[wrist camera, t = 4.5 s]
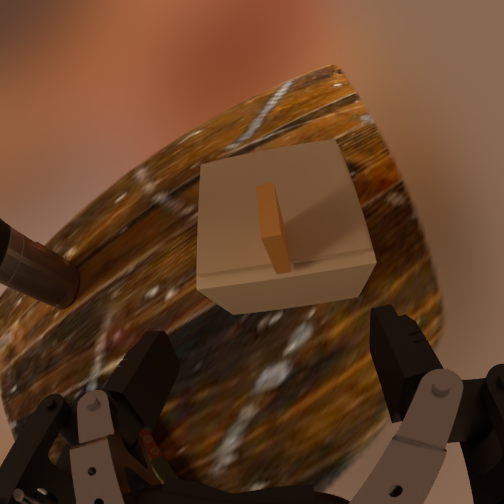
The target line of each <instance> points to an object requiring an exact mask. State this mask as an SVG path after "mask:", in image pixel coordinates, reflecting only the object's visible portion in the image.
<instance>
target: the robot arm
mask: <svg viewBox="0 0 504 504" xmlns="http://www.w3.org/2000/svg"><path fill="white" fill-rule="evenodd" d="M0 283H1V284H3V285H5V286H8V287H10V288H12V289H14V290H16V291H18V292H20V293H23V294H25V295H27V296H29V297H32V298H34V299H36V300H39V301H41V302H43V303H46V304H48V305H51V306H53V307H56V308H58V309H64V308H66V307H68V306H69V305H70V304H71V302H72V301H73V299H74V298H75V295H76V293H77V290H78V285H79V274H78V270H77V269H76V267H75V266H74V265H72V264H70V262H69V261H68V260H66V259H65V258H63V257H61V256H60V255H58V254H56V253H55V252H53V251H51V250H50V249H48V248H47V247H45V246H43V245H42V244H40V243H39V242H34V241H32V240H31V239H29V238H27V237H26V236H24V235H23V234H21V233H20V232H18V231H17V230H15V229H14V228H12V227H11V226H9V225H8V224H7V223H5V222H4V221H2V219H0ZM369 343H370V352H371V356H372V359H373V362H374V365H375V368H376V371H377V374H378V377H379V381H380V384H381V387H382V390H383V394H384V397H385V400H386V404H387V407H388V411H389V414H390V418H391V421H392V423H395V422H399V421H402V424H401V426H400V427H399V430H398V431H397V433H396V435H395V436H394V437H393V438H392V440H391V441H390V443H389V445H388V446H387V448H386V450H385V452H384V453H383V455H382V456H381V458H380V460H379V461H378V463H377V465H376V466H375V468H374V469H373V471H372V472H371V474H370V475H369V477H368V478H367V480H366V481H365V483H364V484H363V486H362V487H361V488H360V490H359V491H358V492H357V494H356V495H355V496H354V498H353V499H352V500H351V502H350V501H348V500H346V499H343V498H341V497H338V496H335V495H331V494H327V493H322V492H314V485H302V486H283V487H270V488H265V489H260V490H255V491H249V492H243V493H235V494H234V493H228V492H225V491H222V490H219V489H216V488H213V487H210V486H208V485H205V484H202V483H199V482H195V481H189V480H183V479H177V478H172V477H167V476H166V478H165V481H164V484H162V482H161V481H160V480H159V479H158V477H157V476H156V474H155V472H154V470H153V468H152V465H151V462H150V460H149V457H148V454H147V452H146V449H145V446H144V443H143V440H142V438H141V437H140V435H139V434H140V432H141V430H143V431H148V432H153V430H154V428H155V425H156V423H157V421H158V418H159V416H160V414H161V412H162V409H163V407H164V405H165V402H166V400H167V398H168V395H169V393H170V391H171V389H172V386H173V384H174V382H175V380H176V377H177V375H178V373H179V360H178V357H177V355H176V353H175V351H174V349H173V347H172V345H171V342H170V340H169V338H168V336H167V334H166V333H165V332H164V331H147V332H146V333H145V334H144V335H143V337H142V338H141V340H140V341H139V342H138V343H137V344H136V345H135V346H133V347H132V348H131V349H130V350H128V352H127V353H126V355H125V356H124V358H123V360H122V361H121V362H120V364H119V365H118V367H117V368H116V369H115V371H114V372H113V374H112V375H111V377H110V378H109V380H108V381H107V383H106V384H105V386H104V387H103V389H102V390H94V391H91V392H88V393H87V394H85V395H84V396H83V397H82V398H81V399H80V400H79V402H78V403H67V402H66V401H65V400H64V398H63V397H62V396H61V395H60V394H51V395H49V396H47V397H46V398H44V399H43V400H42V402H41V403H40V405H39V406H38V407H37V409H36V410H35V412H34V413H33V415H32V416H31V418H30V419H29V421H28V422H27V424H26V425H25V427H24V428H23V430H22V432H21V433H20V435H19V436H18V438H17V440H16V441H15V443H14V444H13V446H12V448H11V450H10V451H9V453H8V455H7V456H6V458H5V460H4V462H3V463H2V465H1V467H0V504H75V503H76V502H77V504H423V503H424V501H425V499H426V497H427V495H428V493H429V491H430V490H431V488H432V486H433V484H434V481H435V479H436V477H437V475H438V473H439V471H440V468H441V466H442V464H443V461H444V459H445V456H446V452H447V450H445V447H446V444H447V443H451V442H460V445H461V448H462V452H463V456H464V459H465V463H466V467H467V471H468V476H469V480H470V485H471V490H472V495H473V501H474V504H504V364H499V365H496V366H494V367H493V368H491V369H490V370H489V372H488V374H487V376H486V378H482V379H472V380H461V378H460V377H459V376H458V375H457V374H456V373H455V372H453V371H451V370H446V369H444V368H443V367H442V365H441V363H440V361H439V360H438V358H437V356H436V354H435V353H434V351H433V349H432V348H431V346H430V344H429V342H428V341H427V340H426V338H425V336H424V334H423V333H422V332H421V329H420V328H419V326H418V325H417V323H416V322H415V321H414V320H413V319H411V318H410V317H408V316H407V315H403V316H398V315H397V313H396V311H395V309H394V308H393V306H392V305H391V304H390V305H385V306H380V307H375V308H372V309H371V316H370V340H369ZM58 434H59V435H60V437H61V438H62V439H63V440H65V441H66V442H67V445H66V446H65V448H64V450H63V452H62V454H61V456H60V458H59V460H58V462H57V464H56V466H55V465H54V464H53V463H52V462H51V461H50V460H49V457H48V453H49V450H50V448H51V446H52V445H53V443H54V441H55V439H56V437H57V436H58Z"/></svg>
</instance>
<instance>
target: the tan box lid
mask: <svg viewBox="0 0 504 504" xmlns="http://www.w3.org/2000/svg"><path fill="white" fill-rule="evenodd" d="M370 249H371V246H370V242H369V239H368V235H367V232H366V228H365V225H364V221H363V218H362V214H361V211H360V208H359V205H358V202H357V199H356V195H355V192H354V189H353V186H352V183H351V181H350V178H349V175H348V172H347V169H346V167H345V164H344V161H343V158H342V156H341V153H340V151H339V148H338V146H337V143H336V141H335V139H332V140H325V141H317V142H310V143H304V144H297V145H291V146H285V147H279V148H274V149H268V150H263V151H258V152H253V153H248V154H244V155H239V156H234V157H230V158H226V159H221V160H217V161H213V162H209V163H205V164H201V171H200V188H199V209H198V238H197V275H198V276H199V277H207V276H214V275H221V274H228V273H235V272H242V271H249V270H256V269H263V268H269V267H274V270H275V272H276V274H282V273H289V272H291V267H290V264H296V263H302V262H308V261H315V260H321V259H327V258H333V257H339V256H346V255H352V254H358V253H364V252H369V251H370Z"/></svg>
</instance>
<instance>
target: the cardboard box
mask: <svg viewBox="0 0 504 504" xmlns="http://www.w3.org/2000/svg"><path fill="white" fill-rule="evenodd" d="M338 148H339V151H340V153H341V156H342V158H343V161H344V164H345V167H346V169H347V172H348V175H349V178H350V181H351V183H352V186H353V189H354V192H355V195H356V199H357V202H358V205H359V208H360V211H361V214H362V218H363V221H364V225H365V228H366V232H367V235H368V239H369V242H370V246H371V249H370V251H369V252H364V253H358V254H352V255H346V256H339V257H333V258H327V259H321V260H315V261H308V262H302V263H296V264H290V267H291V272H289V273H282V274H276V272H275V270H274V267H269V268H263V269H256V270H249V271H242V272H235V273H228V274H221V275H214V276H207V277H199V276H198V275H197V290H198V291H199V292H201V293H202V294H204V295H205V296H207V297H208V298H209V299H211V300H212V301H214V302H215V303H217V304H218V305H220V306H221V307H222V308H224V309H225V310H227V311H228V312H230V313H231V314H233V315H236V314H245V313H254V312H262V311H270V310H278V309H285V308H293V307H300V306H307V305H313V304H320V303H326V302H332V301H338V300H344V299H350V298H355V297H358V296H359V295H360V293H361V291H362V289H363V288H364V286H365V284H366V282H367V280H368V278H369V276H370V275H371V273H372V271H373V269H374V267H375V265H376V263H377V262H376V258H375V254H374V250H373V246H372V242H371V239H370V235H369V232H368V228H367V225H366V221H365V218H364V215H363V211H362V208H361V205H360V202H359V199H358V196H357V193H356V190H355V187H354V184H353V181H352V178H351V175H350V173H349V170H348V167H347V165H346V162H345V159H344V157H343V154H342V151H341V149H340V146H338ZM199 188H200V186H199ZM198 209H199V206H198ZM197 238H198V233H197Z"/></svg>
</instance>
